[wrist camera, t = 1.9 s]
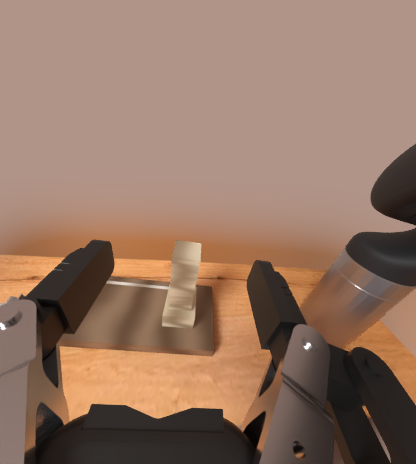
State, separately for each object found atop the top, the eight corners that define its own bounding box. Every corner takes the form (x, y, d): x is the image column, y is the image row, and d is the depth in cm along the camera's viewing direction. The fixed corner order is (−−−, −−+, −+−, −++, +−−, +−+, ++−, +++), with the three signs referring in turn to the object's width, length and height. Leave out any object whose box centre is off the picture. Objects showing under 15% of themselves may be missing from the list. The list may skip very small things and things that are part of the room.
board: (210, 292, 38) (212, 286, 36) (211, 356, 27) (214, 350, 26) (84, 280, 35) (82, 272, 34) (34, 344, 25) (29, 337, 24)
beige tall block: (195, 294, 34) (206, 236, 27) (192, 328, 29) (205, 267, 21) (169, 291, 34) (173, 232, 26) (162, 326, 28) (164, 262, 21)
